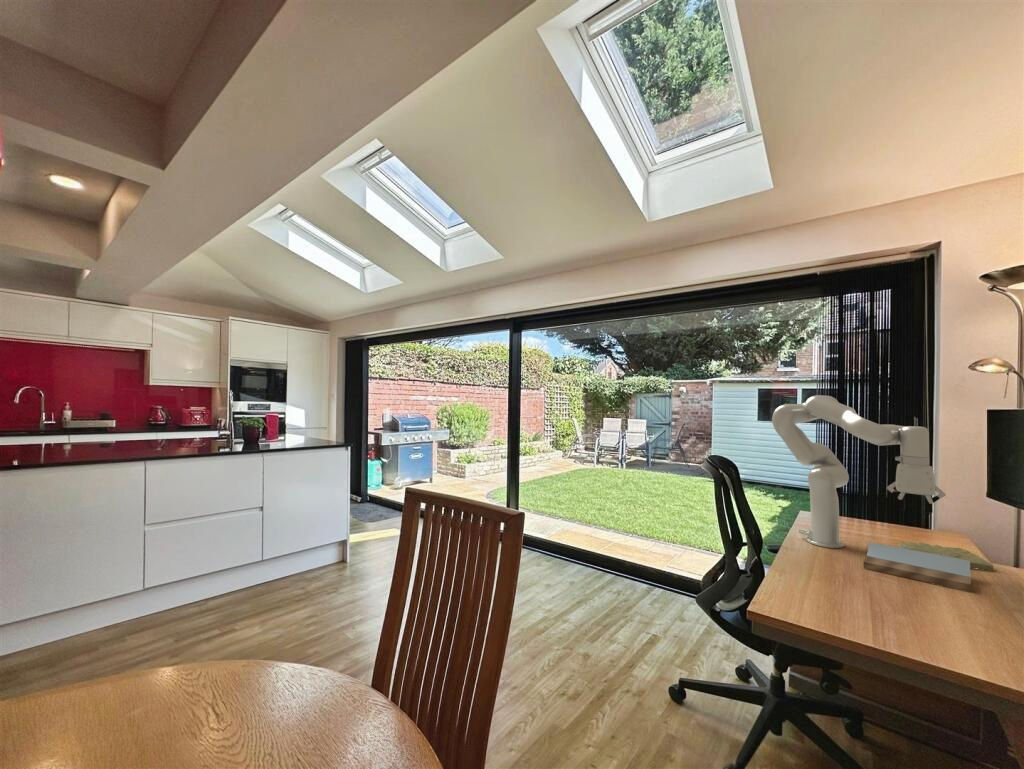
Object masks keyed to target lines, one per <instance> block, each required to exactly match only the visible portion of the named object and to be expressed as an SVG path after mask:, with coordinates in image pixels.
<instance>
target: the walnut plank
mask: <svg viewBox="0 0 1024 769" xmlns="http://www.w3.org/2000/svg"><path fill="white" fill-rule="evenodd" d="M864 568H867V569H866V570H869V569H871V570H870V571H873V570H875V571H874V572H878V571H880V572H879V573H882V572H884V573H883V574H887V573H888V574H887V575H891V574H892V576H896V577H900V576H901V577H902V578H905V577H906V579H909V578H911V579H910V580H914V579H916V580H915V581H918V580H921V581H920V582H923V581H926V582H925V583H927V582H930V583H929V584H932V583H934V584H933V585H936V584H939V585H938V586H941V585H942V587H945V586H946V588H950V589H955V590H959V591H964V592H968V593H972V578H971V577H972V576H971V577H966V576H961V575H956V574H951V573H947V572H942V571H937V570H932V569H927V568H922V567H917V566H913V565H908V564H903V563H898V562H893V561H888V560H884V559H879V558H874V557H869V556H867V555H866V556H865V559H864V560H863V569H864ZM901 577H900V578H901Z"/></svg>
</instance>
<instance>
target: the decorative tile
mask: <svg viewBox="0 0 1024 769" xmlns="http://www.w3.org/2000/svg"><path fill="white" fill-rule="evenodd" d="M898 547H899V548H904V549H910V550H915V551H920V552H926V553H931V554H936V555H942V556H947V557H952V558H958V559H963V560H968V561H970V568H978V569H984V570H983V571H987V570H991V571H990V572H994V565H993V564H992V563H991V562H989V561H987V560H986V559H985V558H984V557H980V556H979V555H977V554H976V553H973V552H971V551H969V550H968V549H964V548H962V547H961V548H960V547H948V546H941V545H937V544H934V545H933V544H932V545H930V544H928V543H926V542H925V543H924V542H917V543H916V542H913V541H912V542H911V541H906V542H904V541H899V543H898Z"/></svg>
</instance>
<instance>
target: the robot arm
mask: <svg viewBox="0 0 1024 769" xmlns="http://www.w3.org/2000/svg"><path fill="white" fill-rule="evenodd" d="M820 419H821V420H824V421H826V422H829V423H831V424H833V425H836V426H838V427H841V429H843V430H844V431H846V432H848V433H849V434H851V435H852V436H854V437H856V438H858V439H861V440H864V441H865V442H868V443H869V444H873V445H875V446H892V445H893V446H894V445H895V446H896V445H900V446H899V448H900V450H899V451H900V455H899V456H895V457H894V459H895V461H897V462H899V463H897V466H896V472H895V481H894V482H892V483H891V484H889V485H888V486H886V490H888V492H890V493H891V494H892V495H893V496H894V497H896V498H897V499H898V502H899V503H898V508H899V509H901V512H905V511H906V500H905V495H906V494H911V495H918V496H925V498H926V500H927V502H926V516H930V515H931V514H932V513H933V504H934V503H935V502H937V501H939V500H940V499H943V498H944V497H945V496H947V495H946V493H945V491H943V490H942V489H941V488H940V487H938V486H937V485H936V482H935V481H936V480H935V473H934V469H933V466H931V465H930V432H929V429H928V428H927V427H925V426H918V425H917V426H915V425H914V426H912V425H909V426H908V425H906V426H905V425H898V424H897V425H896V424H890V423H889V424H879V423H876V422H873V421H872V420H868V419H866V418H864V417H862V416H860V415H859V414H857V412H856V410H855V408H853V407H851V406H848V405H846V404H843V403H840V402H839V401H838V400H837V399H836V398H835V397H834V396H831V395H821V394H820V395H817V394H815V395H812V396H810V397H809V398H807V399H806V401H805V402H803V403H785V404H781V405H779V406H778V407H776V409H775V410H774V411H773V413H772V417H771V422H772V426H773V428H774V430H775V432H776V433H777V435H778V436H779V437H780V438H781V439H782V441H783V443H785V445H786V446H787V448H788V449H789V451H790V452H791V454H792V455H793V456H794V457H795V460H797V461H798V463H799V464H801V465H803V466H806V467H808V466H809V467H811V466H814V467H813V468H811V469H810V470H809V472H808V474H807V483H808V487H809V497H810V499H809V500H810V529H804V528H798V533H799V534H800V535H804V536H806V542H808V543H810V544H812V545H815V546H817V547H822V548H823V547H824V548H830V549H841V548H844V547H845V542H843V541H841V540H840V503H839V502H840V501H839V496H838V492H837V488H842V487H844V486H846V485H847V484H848V482H849V480H850V476H849V473H848V470H847V469H846V468H845V466H844V464H842V462H841V461H840V460H839V459H838V457H837V456H836V455H835V454H834V452H833V451H832V450H831V449H830V448H829V447H828V446H827V445H825V444H823V443H820V442H812V441H811V440H810V438H808V437H807V435H806V434H805V432H804V431H803V430H802V429H801V428H799V427H798V426H797V425H796V424H804V423H809V422H811V421H812V422H813V421H815V420H820ZM894 488H895V489H894ZM899 492H900V493H899ZM936 493H938V494H937V495H935V494H936ZM932 496H933V497H932Z"/></svg>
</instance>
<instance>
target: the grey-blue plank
mask: <svg viewBox="0 0 1024 769" xmlns="http://www.w3.org/2000/svg"><path fill="white" fill-rule="evenodd" d="M867 556H869V557H874V558H879V559H884V560H888V561H893V562H898V563H903V564H908V565H913V566H917V567H922V568H927V569H932V570H937V571H942V572H947V573H951V574H956V575H961V576H966V577H972V576H971V574H972V573H971V569H970V561H968V560H963V559H958V558H952V557H947V556H942V555H936V554H931V553H926V552H920V551H915V550H910V549H904V548H899V546H895V545H894V546H892V545H887V544H882V543H877V542H871V541H870V542H868V548H867V554H866V557H867Z"/></svg>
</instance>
